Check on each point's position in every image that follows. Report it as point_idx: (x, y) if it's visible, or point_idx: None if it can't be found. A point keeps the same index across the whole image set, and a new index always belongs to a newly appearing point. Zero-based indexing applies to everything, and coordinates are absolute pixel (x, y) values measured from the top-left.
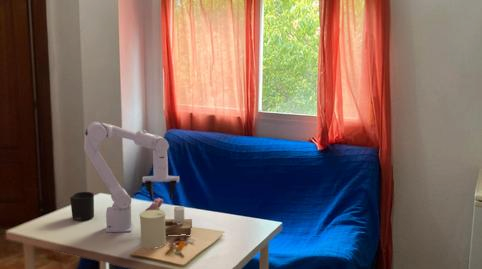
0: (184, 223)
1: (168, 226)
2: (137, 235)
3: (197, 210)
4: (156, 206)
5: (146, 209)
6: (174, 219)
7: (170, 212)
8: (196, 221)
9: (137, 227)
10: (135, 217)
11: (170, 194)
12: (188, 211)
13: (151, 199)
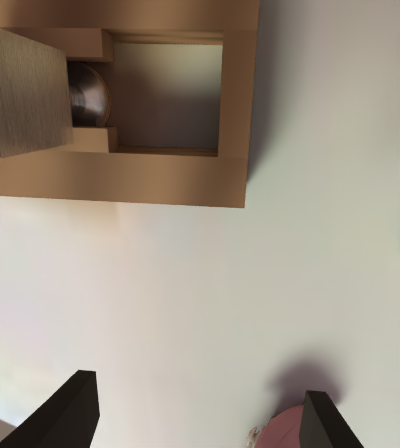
0: None
1: (124, 18)
2: (385, 29)
3: None
4: (260, 441)
5: None
6: (49, 46)
7: (180, 417)
8: (6, 271)
9: (379, 201)
10: (387, 372)
11: (49, 420)
12: None
13: (320, 393)
